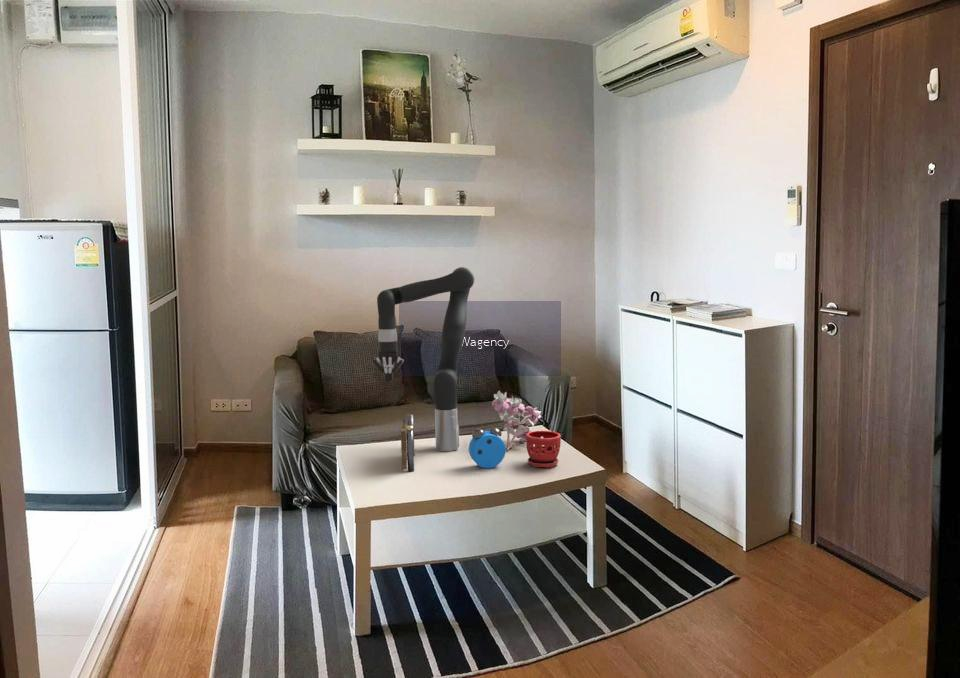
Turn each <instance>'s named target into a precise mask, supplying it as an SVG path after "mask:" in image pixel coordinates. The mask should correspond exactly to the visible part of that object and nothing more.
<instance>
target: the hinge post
mask: <svg viewBox="0 0 960 678" xmlns="http://www.w3.org/2000/svg"><path fill="white" fill-rule="evenodd" d="M408 425H412V426H413V448H414V449H415V428H414V427H415V426H414V425H415V424H414V414H412V413H411V414H410V413H409V414H407V415H406V426H408ZM414 456H416V455H415V452H414Z"/></svg>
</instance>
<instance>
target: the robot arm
mask: <svg viewBox="0 0 960 678" xmlns="http://www.w3.org/2000/svg"><path fill="white" fill-rule="evenodd" d="M474 284H475V276H474V273H473V272H472V271H471V270H470V269H468V268H467V267H464V266H459V267H458V268H456V269H454V270H453V271H452V272H451V273H447V275H443V276H441V277H437V278H432V279H427V280H421V281H420V280H419V281H415V282H412V283H409V284H408V283H407V284H404V285H402V286H399V287H398V286H397V287H393V288H387V289H384V290H381V291H380V292H379V293H378V295H377V297H376V304H377V305H376V306H377V314H378V318H377V319H378V333H377V336H378V337H377V340H378V354H377V357H376V358H374V359H373V360H372V362H373V363H374V365H375V366H376V367H377V368H378V370H379V371H380V373H381V372H383V373H384V377H385V378H384V379H385V382H386V383H392V382H393V380H394V373H395V372H397V371H398V370H399V368H400V367H401V366H402V365H403V364H404V362H405V359H404V358H401V357H400V355H399V352H398V351H399V350H398V333H397V332H398V331H397V318H396V307H395V306H396V305H400V304H403V303H410V302H414V301H418V300H422V299H426V298H429V297H433V296H437V295H439V294H444V293H449V301H448V304H447V308H446V311H445V315H444V319H443V325H442V330H441V337H440V339H441V341H440V345H441V347H440V350H441V351H440V359H439V364H438V367H437V371H436V373H435V376H434V378H433V400H434V401H433V402H434V419H435V420H434V421H435V423H434V425H435V426H434V427H435V428H434V429H435V431H434V432H435V449H436V450H437V451H439V450H440V451H439V452H453V451H452V450H456V451H458V449H459V447H460V427H459V426H460V425H459V424H458V396H457V381H458V376H457V375H458V365H459V363H458V362H459V356H460V354H461V350H462V346H463V343H464V340H465V333H466V330H467V329H466V327H467V318H468V317H467V314H468V311H467V309H468V308H467V307H468V306H467V305H468V299H469V294H470V290H471V288H472V287H473V285H474ZM396 362H397V364H396V365H395V363H396ZM381 363H382V364H381ZM394 365H395V366H394Z"/></svg>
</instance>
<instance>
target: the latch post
mask: <svg viewBox="0 0 960 678" xmlns="http://www.w3.org/2000/svg"><path fill="white" fill-rule="evenodd" d="M406 434H407V472H409V473H412V472H415V457H414V453H415V447H414V448H413V426H412V425H408V426H407V425H406Z"/></svg>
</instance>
